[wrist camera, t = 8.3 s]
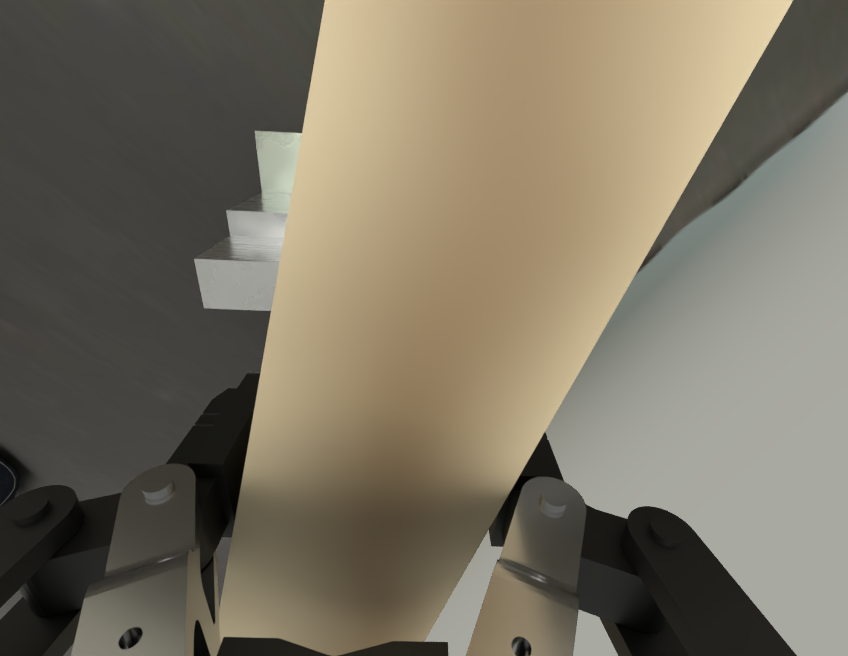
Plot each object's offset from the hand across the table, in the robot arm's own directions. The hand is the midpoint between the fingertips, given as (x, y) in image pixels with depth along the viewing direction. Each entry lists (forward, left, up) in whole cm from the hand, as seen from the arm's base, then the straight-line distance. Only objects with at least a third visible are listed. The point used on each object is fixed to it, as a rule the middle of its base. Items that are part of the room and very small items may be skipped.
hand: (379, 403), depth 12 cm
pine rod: (0, 0, -1) cm, 1 cm away
